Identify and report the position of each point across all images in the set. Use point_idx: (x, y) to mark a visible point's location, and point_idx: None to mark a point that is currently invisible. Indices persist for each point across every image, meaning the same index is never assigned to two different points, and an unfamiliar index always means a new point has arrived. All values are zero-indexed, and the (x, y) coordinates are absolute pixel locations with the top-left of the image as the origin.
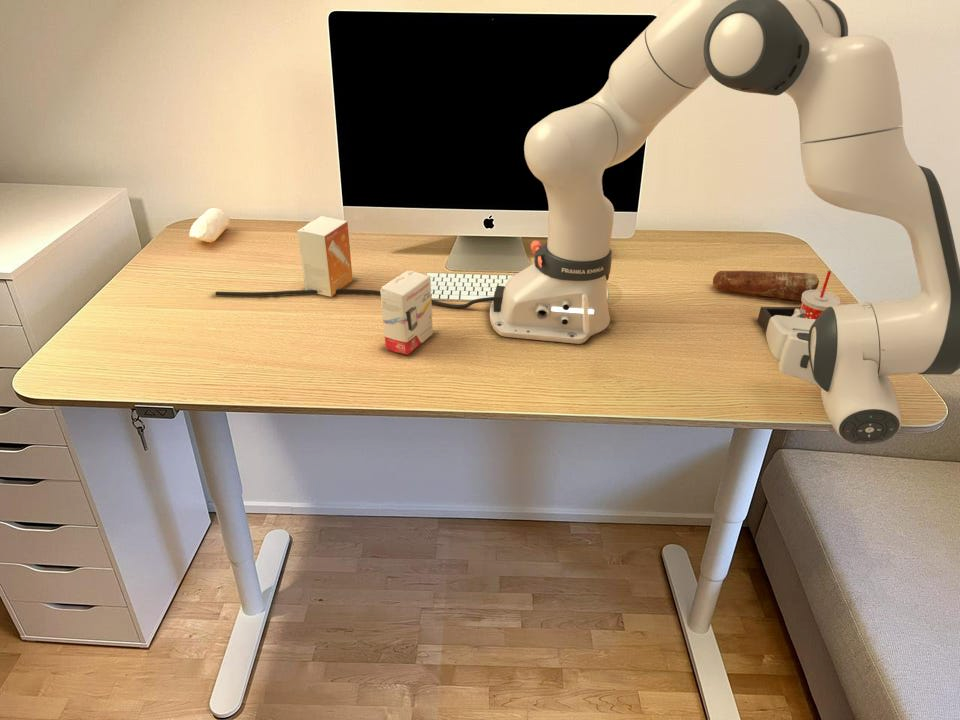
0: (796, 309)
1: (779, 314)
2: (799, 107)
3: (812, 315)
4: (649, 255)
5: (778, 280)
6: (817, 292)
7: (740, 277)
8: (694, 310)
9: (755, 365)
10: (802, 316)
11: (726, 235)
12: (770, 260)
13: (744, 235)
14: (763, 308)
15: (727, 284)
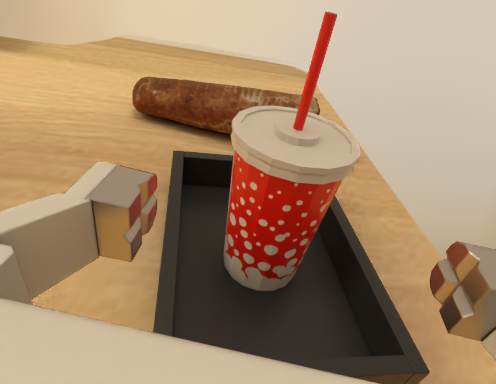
0: (93, 168)
1: (218, 172)
2: None
3: (257, 194)
4: (83, 57)
5: (243, 101)
6: (292, 115)
7: (175, 89)
8: (44, 145)
9: None
10: (111, 222)
11: (224, 58)
12: (265, 88)
13: (247, 61)
14: (177, 154)
15: (150, 101)
